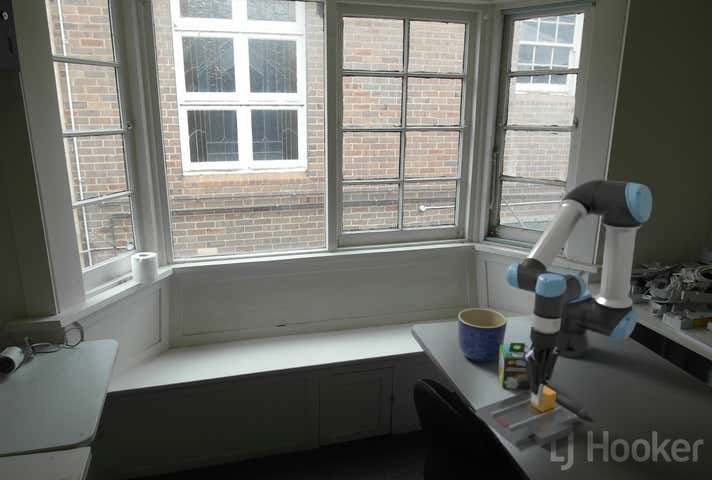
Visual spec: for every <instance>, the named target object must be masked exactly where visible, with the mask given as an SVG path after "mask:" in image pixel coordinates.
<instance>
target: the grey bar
mask: <svg viewBox="0 0 712 480" xmlns="http://www.w3.org/2000/svg"><path fill="white" fill-rule="evenodd" d="M573 430H574V425H573V424H572V423H571V424H570V423H568V422H567V421H565V422H563V423H560V424H558V425H555V426H553V427H550V428H548V429H546V430H543V431H541V432H538V433H536V434H535V439H533V440H534V443H536V445H539V447H544V446H546V445H549V444H552V443H553V442H555V441H558V440H560V439H562V438H565V437H567V436H569V435H572V434H573Z"/></svg>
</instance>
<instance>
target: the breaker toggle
mask: <svg viewBox="0 0 712 480" xmlns="http://www.w3.org/2000/svg"><path fill="white" fill-rule="evenodd" d="M546 386H547V385H544V388H543V393H542V396H541V404H540V405H539V406H538V405H536V404H535V403H533V402H532V401H531V405H532V406H534V407H535V408H537V409H538V410H540V411H541V412H545V411H547V410H550V409H552V408H555V402H556V401H555V400H556V392H557V391H556V392H554V391H555V390H554V389H552V388H551V387H549V386H547V387H546ZM548 387H549V388H548ZM550 388H551V389H552V390H551V389H550ZM553 390H554V391H553Z"/></svg>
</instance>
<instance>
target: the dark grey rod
mask: <svg viewBox="0 0 712 480" xmlns="http://www.w3.org/2000/svg"><path fill="white" fill-rule="evenodd" d="M545 386H546V387H548V388H550V389H551V390H553V391H554V392H556V400H555V402H557V403H558V404H560V405H561V406H563V407H565V408H566V409H568V410H569V411H571V412H572V413H574V414H576V415H577V416H578V417H581V418H585V417H586V416H587V413H588V412H587V410H586V409H585V408H583V407H582V406H580V405H578V403H576V402H574V401H572V400H570V399H569V398H567V397H565V396H563V395H562V394H561V393H558V392H557V391H556V390H554V389H553V388H551V387H549V386H547V385H545Z"/></svg>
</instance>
